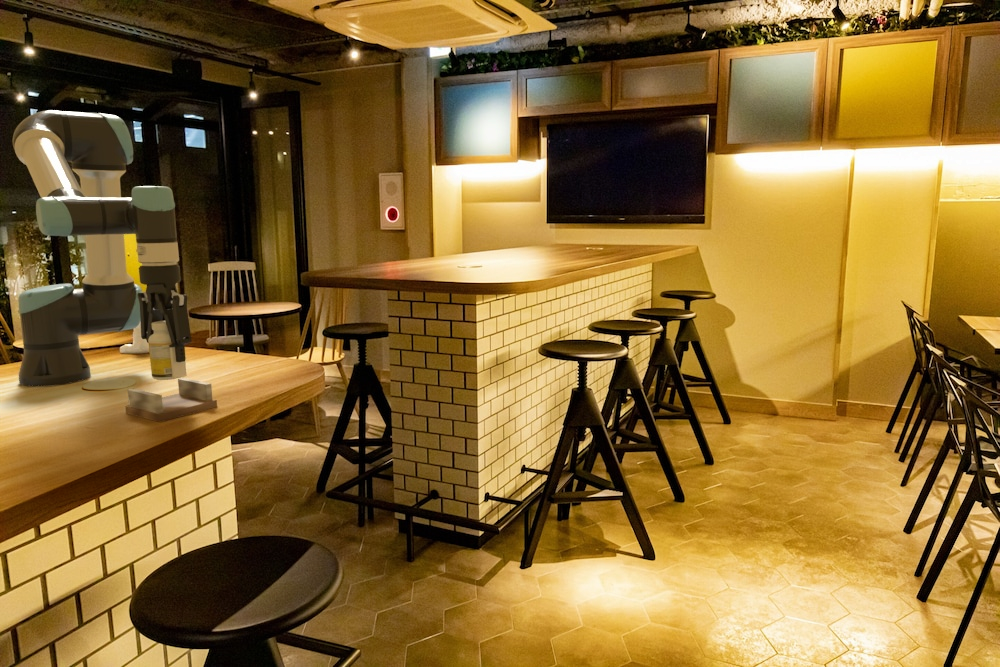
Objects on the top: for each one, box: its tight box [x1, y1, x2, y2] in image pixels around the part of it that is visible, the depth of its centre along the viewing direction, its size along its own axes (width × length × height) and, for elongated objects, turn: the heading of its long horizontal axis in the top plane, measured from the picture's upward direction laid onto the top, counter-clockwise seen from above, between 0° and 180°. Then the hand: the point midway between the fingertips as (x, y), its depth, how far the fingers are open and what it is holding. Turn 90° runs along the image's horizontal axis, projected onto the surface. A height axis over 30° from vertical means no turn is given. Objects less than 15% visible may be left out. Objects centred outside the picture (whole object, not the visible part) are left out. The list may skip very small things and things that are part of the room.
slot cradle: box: [124, 377, 218, 423], centre depth 149 cm, size 12×13×5 cm
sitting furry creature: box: [119, 322, 150, 354], centre depth 211 cm, size 10×9×12 cm
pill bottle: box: [148, 320, 182, 381], centre depth 147 cm, size 6×6×12 cm
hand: (169, 375), depth 148 cm, fingers closed on pill bottle, 6 cm apart
